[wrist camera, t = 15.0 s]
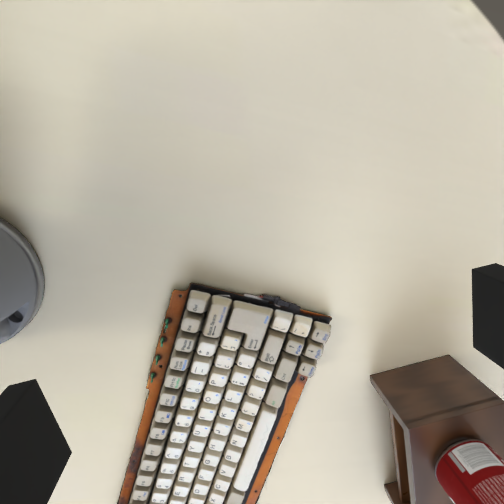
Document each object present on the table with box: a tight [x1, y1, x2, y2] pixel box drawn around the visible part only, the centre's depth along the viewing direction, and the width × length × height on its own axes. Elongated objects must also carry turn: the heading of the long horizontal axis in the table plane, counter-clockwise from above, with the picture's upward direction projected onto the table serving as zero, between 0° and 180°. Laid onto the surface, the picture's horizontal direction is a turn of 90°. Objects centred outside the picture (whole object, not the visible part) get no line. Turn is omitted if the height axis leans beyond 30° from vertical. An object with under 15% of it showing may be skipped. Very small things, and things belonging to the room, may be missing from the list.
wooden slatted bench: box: [370, 355, 504, 504], centre depth 42 cm, size 11×21×9 cm, turn 12°
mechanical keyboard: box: [117, 283, 332, 504], centre depth 41 cm, size 38×19×3 cm, turn 163°
